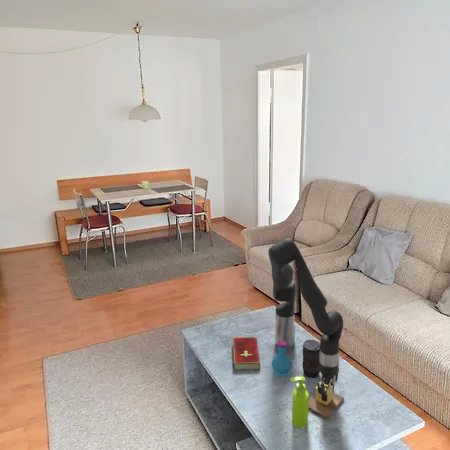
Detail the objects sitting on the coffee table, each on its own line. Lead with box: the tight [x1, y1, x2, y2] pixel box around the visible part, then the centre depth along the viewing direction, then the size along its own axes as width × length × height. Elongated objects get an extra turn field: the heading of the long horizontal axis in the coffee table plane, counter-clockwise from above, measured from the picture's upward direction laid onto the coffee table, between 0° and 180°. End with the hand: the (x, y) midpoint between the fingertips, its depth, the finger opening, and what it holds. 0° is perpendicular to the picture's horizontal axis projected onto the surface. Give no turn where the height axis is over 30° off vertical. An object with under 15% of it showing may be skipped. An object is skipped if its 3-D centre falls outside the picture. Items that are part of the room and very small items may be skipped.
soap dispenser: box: [290, 375, 310, 429], centre depth 152 cm, size 6×7×20 cm
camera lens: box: [302, 339, 321, 379], centre depth 179 cm, size 8×8×15 cm
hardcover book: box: [232, 336, 261, 370], centre depth 195 cm, size 12×21×4 cm, turn 0°
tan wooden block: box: [314, 384, 333, 405], centre depth 163 cm, size 5×5×6 cm
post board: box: [308, 392, 345, 420], centre depth 163 cm, size 14×10×6 cm
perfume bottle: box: [271, 340, 293, 377], centre depth 181 cm, size 9×9×15 cm
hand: (327, 396), depth 162 cm, fingers closed on tan wooden block, 5 cm apart
